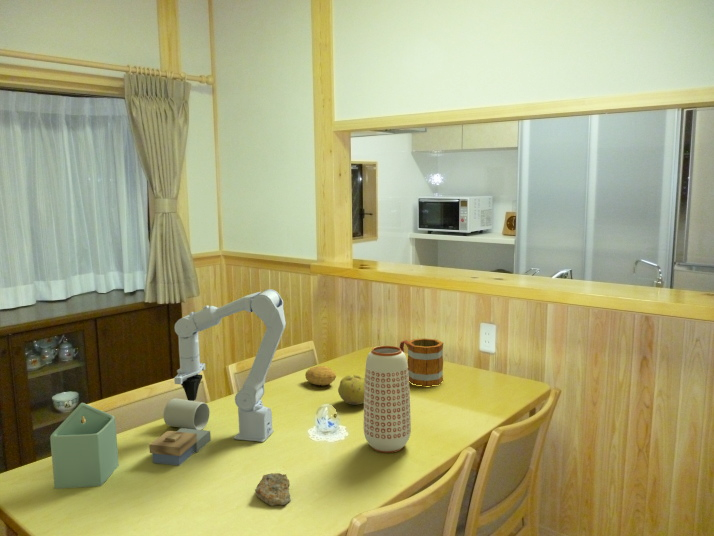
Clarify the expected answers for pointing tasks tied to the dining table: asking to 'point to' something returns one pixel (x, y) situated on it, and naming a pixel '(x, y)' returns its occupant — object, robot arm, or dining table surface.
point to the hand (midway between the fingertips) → (191, 399)
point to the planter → (84, 449)
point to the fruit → (352, 389)
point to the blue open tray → (172, 457)
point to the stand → (198, 437)
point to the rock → (274, 489)
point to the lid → (173, 443)
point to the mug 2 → (424, 361)
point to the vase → (387, 399)
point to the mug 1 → (186, 414)
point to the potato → (320, 375)
